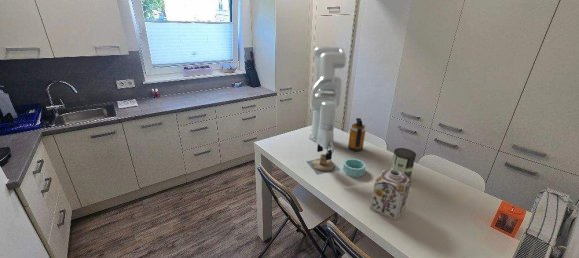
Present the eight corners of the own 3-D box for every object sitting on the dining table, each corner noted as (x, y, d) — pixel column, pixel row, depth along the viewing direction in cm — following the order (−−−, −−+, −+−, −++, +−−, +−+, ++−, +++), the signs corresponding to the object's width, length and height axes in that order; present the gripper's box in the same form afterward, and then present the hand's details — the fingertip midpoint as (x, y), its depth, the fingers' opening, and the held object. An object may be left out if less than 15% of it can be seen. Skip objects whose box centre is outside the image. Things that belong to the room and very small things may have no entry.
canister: (361, 145, 162) (365, 117, 154) (364, 154, 152) (369, 123, 144) (347, 145, 163) (350, 116, 155) (349, 153, 153) (353, 122, 145)
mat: (306, 162, 141) (306, 161, 141) (328, 158, 146) (328, 157, 146) (317, 175, 129) (317, 174, 129) (340, 170, 134) (340, 169, 134)
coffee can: (407, 172, 134) (413, 148, 129) (412, 183, 125) (418, 158, 120) (387, 169, 136) (392, 146, 131) (390, 180, 127) (396, 156, 121)
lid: (308, 161, 141) (309, 152, 138) (327, 158, 145) (328, 149, 142) (318, 173, 130) (318, 163, 128) (338, 169, 134) (339, 159, 132)
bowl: (339, 168, 136) (339, 160, 134) (356, 165, 140) (357, 157, 138) (350, 179, 127) (351, 171, 125) (368, 175, 130) (369, 167, 128)
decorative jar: (379, 195, 115) (386, 161, 108) (405, 207, 109) (414, 171, 102) (368, 209, 107) (375, 173, 100) (396, 222, 100) (405, 184, 93)
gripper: (312, 120, 134) (310, 149, 141) (328, 132, 119) (325, 164, 125) (325, 119, 137) (322, 147, 143) (341, 130, 122) (338, 161, 128)
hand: (324, 155), depth 134 cm, fingers open, 9 cm apart
